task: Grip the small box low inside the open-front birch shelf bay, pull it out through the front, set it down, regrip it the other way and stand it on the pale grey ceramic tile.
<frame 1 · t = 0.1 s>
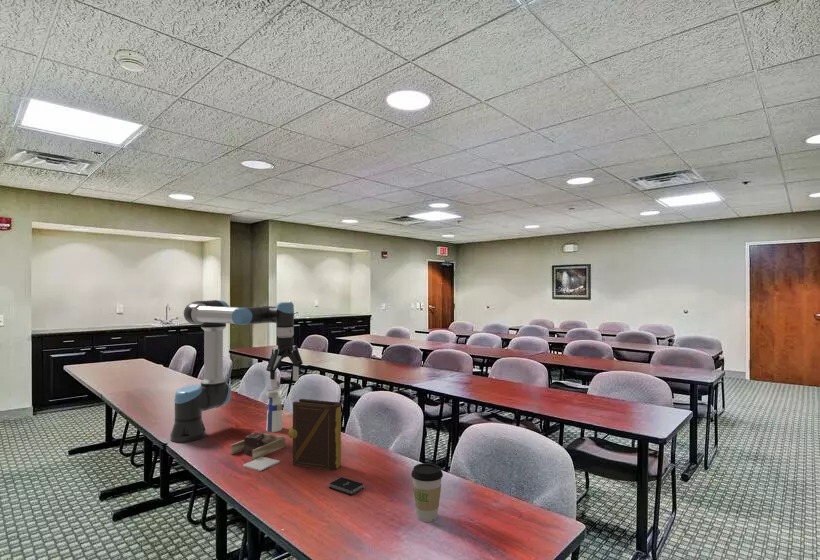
hand: (285, 383, 201), 28 cm above the table, fingers open, 13 cm apart
external hard drive: (346, 489, 158), on the table
book: (314, 465, 179), on the table
coffee cup: (427, 517, 138), on the table
tile: (261, 464, 180), on the table
shelf: (257, 450, 195), on the table
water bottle: (275, 429, 224), on the table
box: (254, 452, 193), on the table
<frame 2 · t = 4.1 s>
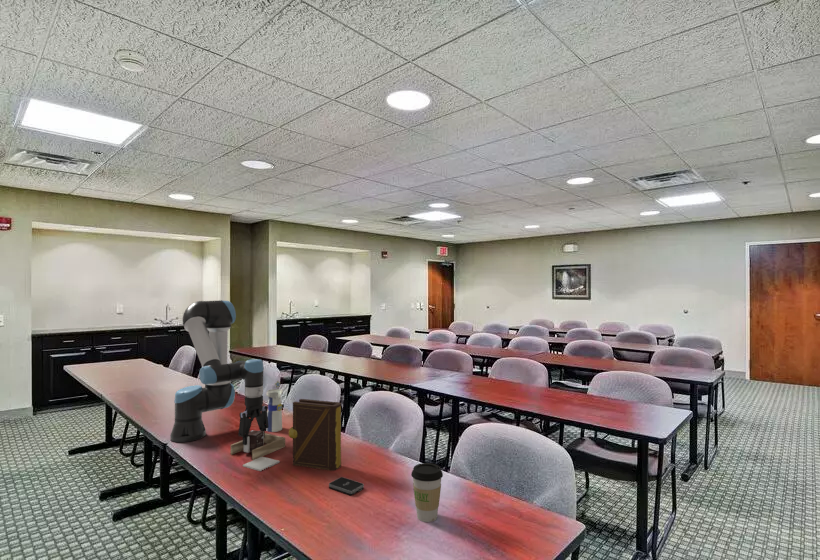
hand: (253, 448, 193), 1 cm above the table, fingers closed on box, 7 cm apart
box: (253, 450, 193), point 1 cm above the table, touching gripper
everything else where it was.
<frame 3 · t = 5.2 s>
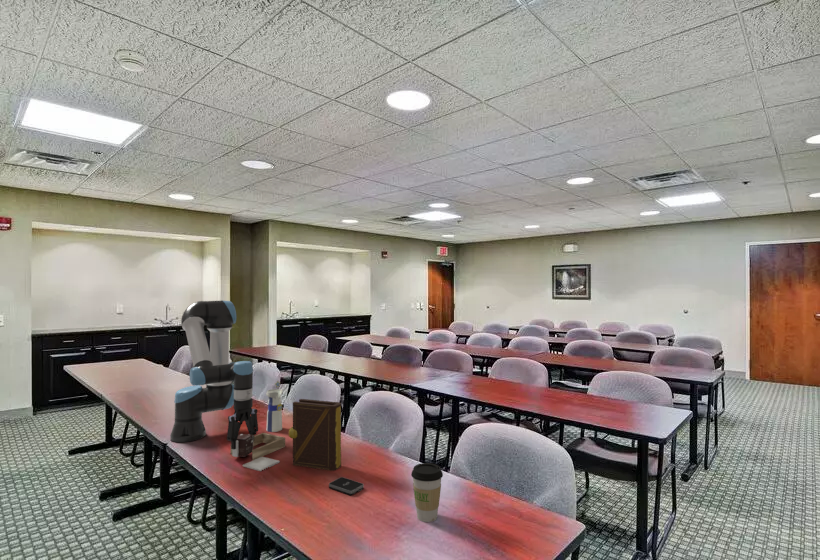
hand: (242, 453, 188), 2 cm above the table, fingers closed on box, 7 cm apart
box: (242, 454, 188), point 1 cm above the table, touching gripper
everything else where it was.
when the fingers open (1 cm above the table, at t = 6.6 s): box stays where it is, on the table.
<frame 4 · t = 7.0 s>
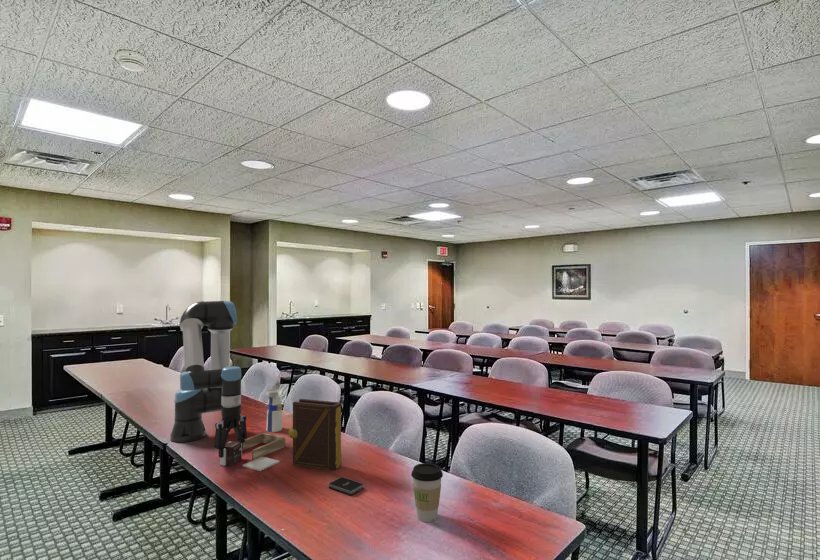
hand: (231, 461, 182), 0 cm above the table, fingers open, 7 cm apart
box: (230, 462, 182), on the table
everything else where it was.
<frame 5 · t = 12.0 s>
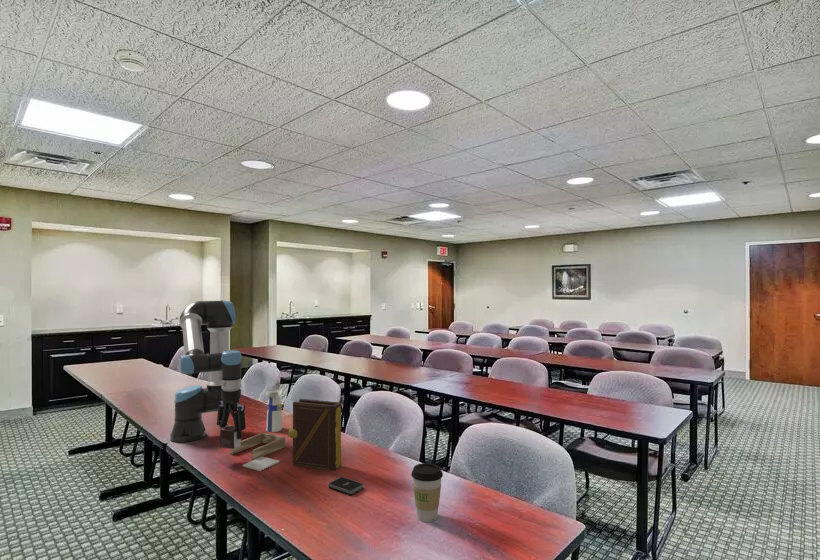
hand: (230, 444, 183), 7 cm above the table, fingers closed on box, 7 cm apart
box: (230, 446, 183), point 6 cm above the table, touching gripper
everything else where it was.
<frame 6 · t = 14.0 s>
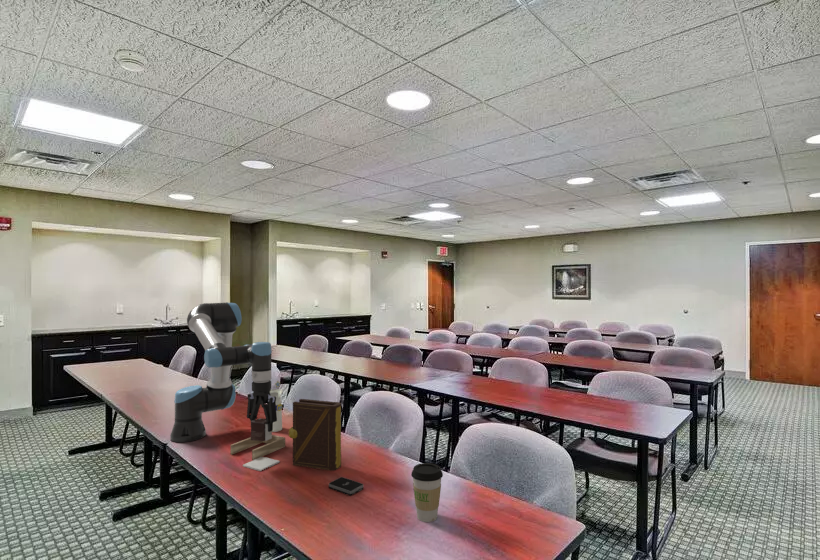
hand: (261, 437, 180), 11 cm above the table, fingers closed on box, 7 cm apart
box: (261, 439, 180), point 10 cm above the table, touching gripper
everything else where it was.
when the fingers open (1 cm above the table, at t = 16.0 s): box stays where it is, resting on tile.
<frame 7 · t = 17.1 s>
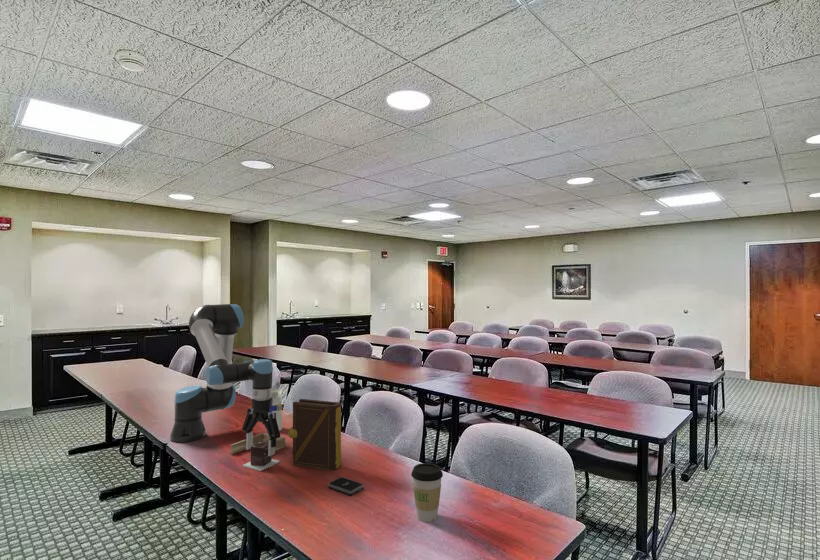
hand: (260, 451, 181), 5 cm above the table, fingers open, 12 cm apart
box: (261, 463, 179), resting on tile
everything else where it was.
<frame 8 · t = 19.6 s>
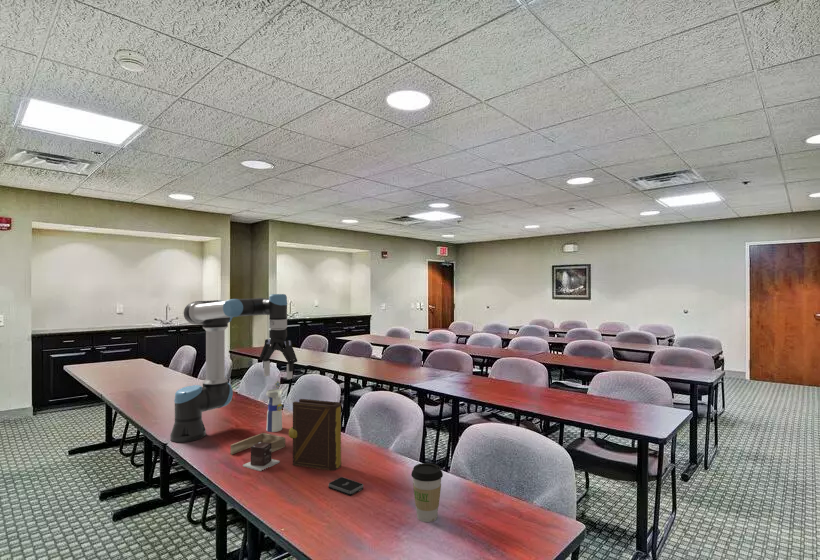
hand: (278, 377, 196), 32 cm above the table, fingers open, 13 cm apart
nothing on the table moved.
at the end: box inside the target area on the tile (0.2 cm from its centre), point 0.4 cm above the tile's base; box tilted 0°; the gripper is holding nothing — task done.
